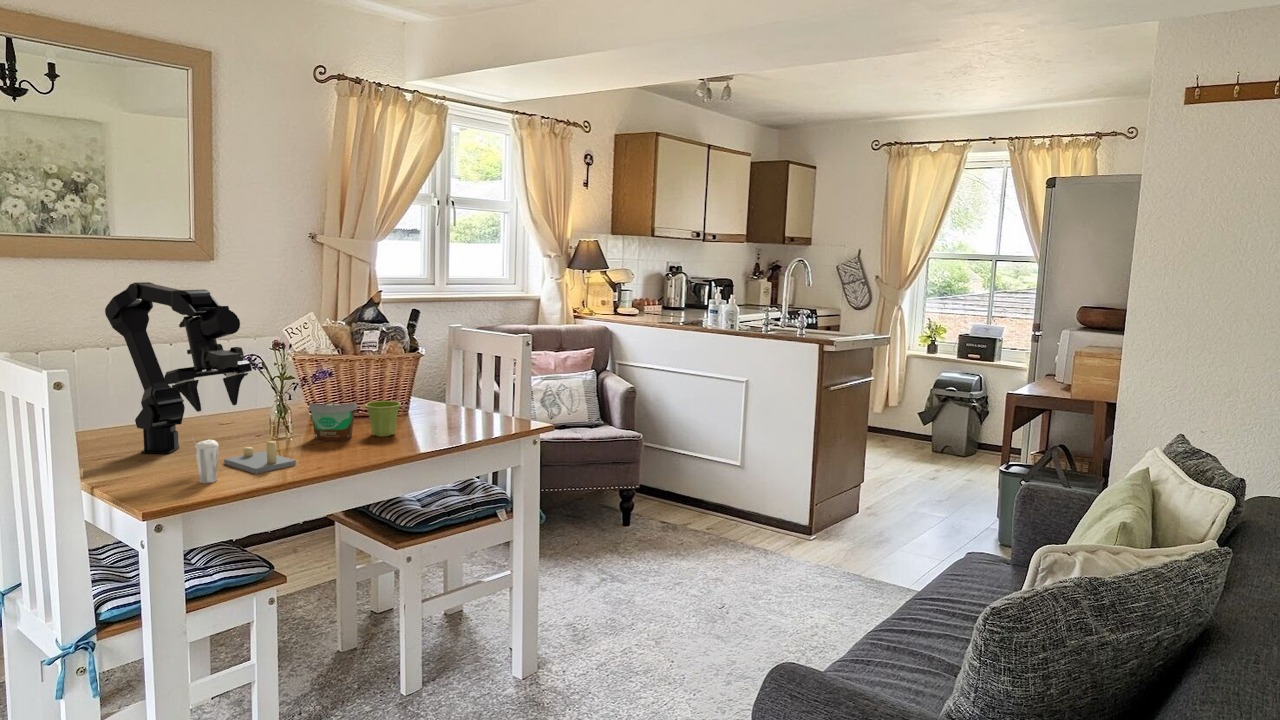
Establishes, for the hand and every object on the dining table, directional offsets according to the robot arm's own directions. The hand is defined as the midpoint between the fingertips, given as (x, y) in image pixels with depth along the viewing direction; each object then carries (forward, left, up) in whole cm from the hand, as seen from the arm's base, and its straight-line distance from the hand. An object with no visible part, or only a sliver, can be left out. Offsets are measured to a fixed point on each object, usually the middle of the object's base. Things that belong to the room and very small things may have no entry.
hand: (217, 408), depth 192 cm
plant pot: (+32, +31, -13) cm, 47 cm away
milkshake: (+2, -15, -13) cm, 20 cm away
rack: (+9, -1, -13) cm, 16 cm away
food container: (+20, +24, -13) cm, 34 cm away
